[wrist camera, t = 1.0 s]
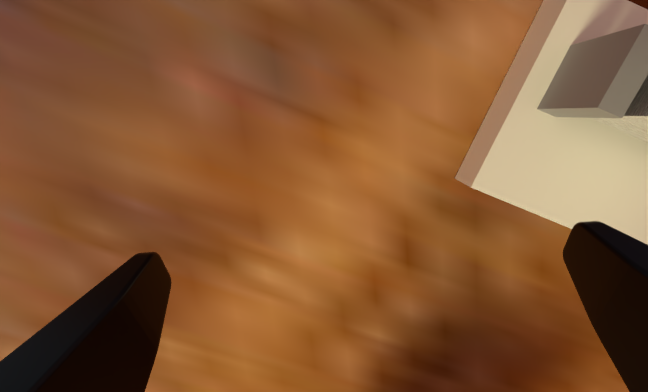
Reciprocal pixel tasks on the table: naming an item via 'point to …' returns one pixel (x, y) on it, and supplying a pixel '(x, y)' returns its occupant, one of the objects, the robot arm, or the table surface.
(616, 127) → the lever
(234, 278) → the table surface
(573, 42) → the block
